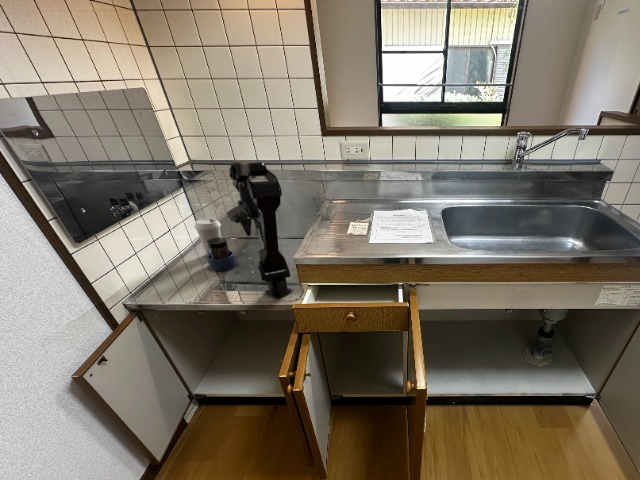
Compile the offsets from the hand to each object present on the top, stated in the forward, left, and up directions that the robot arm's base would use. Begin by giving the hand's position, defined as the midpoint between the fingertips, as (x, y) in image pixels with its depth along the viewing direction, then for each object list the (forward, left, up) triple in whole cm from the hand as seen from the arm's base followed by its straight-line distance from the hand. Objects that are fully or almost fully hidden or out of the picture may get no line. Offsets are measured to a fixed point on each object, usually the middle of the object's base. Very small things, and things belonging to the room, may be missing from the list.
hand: (256, 238), depth 124 cm
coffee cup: (+26, +4, -13) cm, 29 cm away
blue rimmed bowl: (+14, +8, -13) cm, 21 cm away
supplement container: (+14, +8, -13) cm, 20 cm away
